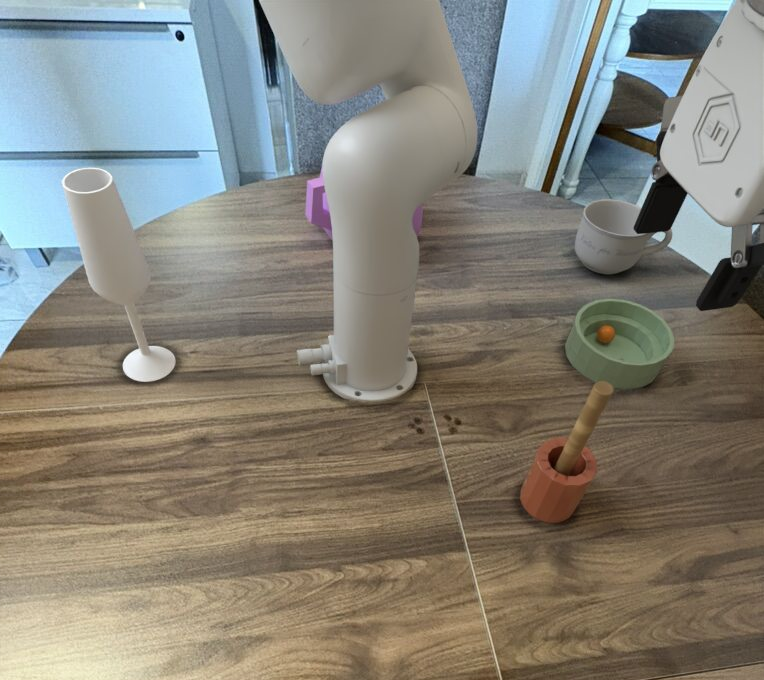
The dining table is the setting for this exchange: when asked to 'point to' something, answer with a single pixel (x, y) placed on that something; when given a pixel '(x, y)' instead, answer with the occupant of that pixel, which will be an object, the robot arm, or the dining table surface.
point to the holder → (556, 483)
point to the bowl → (619, 343)
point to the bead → (605, 334)
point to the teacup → (612, 237)
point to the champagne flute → (114, 260)
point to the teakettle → (320, 210)
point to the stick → (584, 427)
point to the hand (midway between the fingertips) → (680, 266)
